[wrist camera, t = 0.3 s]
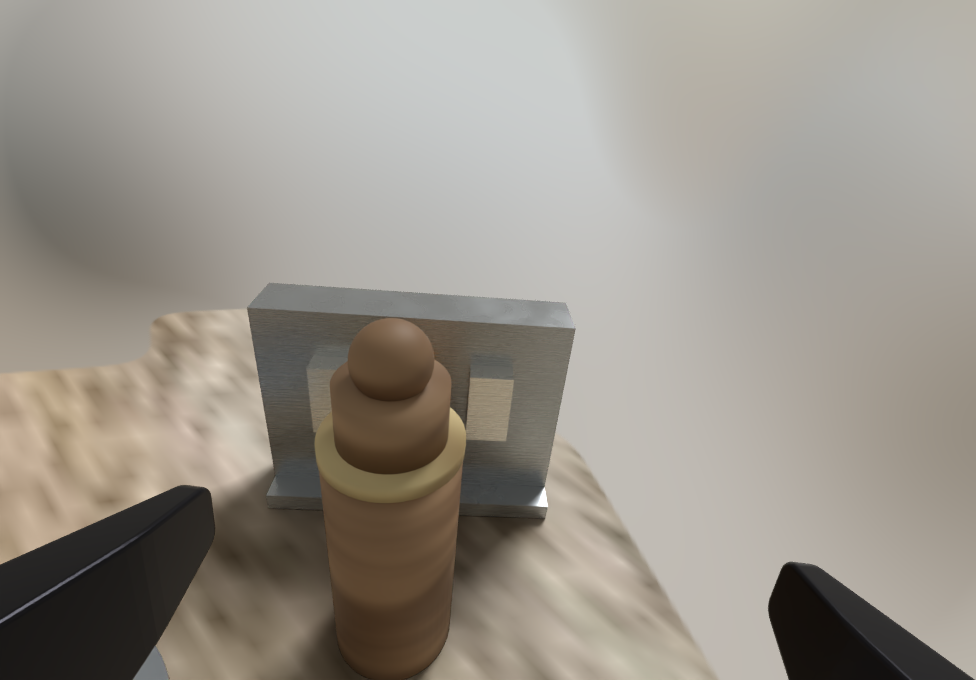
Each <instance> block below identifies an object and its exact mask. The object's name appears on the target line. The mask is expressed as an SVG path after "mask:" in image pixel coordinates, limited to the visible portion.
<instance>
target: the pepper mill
mask: <svg viewBox="0 0 976 680" xmlns="http://www.w3.org/2000/svg"><path fill="white" fill-rule="evenodd" d="M330 397H331V409H332V412H330V413H329V414H328V415H327V416H326V417H325V419H324V420H323V421H322V423H321V424H320V426H319V428H318V430H317V432H316V436H315V454H316V463H317V466H318V469H319V476H320V485H321V494H322V504H323V513H324V522H325V531H326V540H327V550H328V559H329V568H330V577H331V586H332V596H333V605H334V614H335V623H336V632H337V642H338V646H339V649H340V652H341V654H342V656H343V658H344V660H345V661H346V662H347V664H348V665H349V666H350V667H351V668H352V669H353V670H354V671H355V672H357V673H358V674H360V675H362V676H364V677H366V678H368V679H371V680H403V679H406V678H409V677H412V676H414V675H416V674H418V673H419V672H421V671H422V670H424V669H425V668H426V667H427V666H429V665H430V664H431V663H432V662H433V661H434V660H435V659H436V657H437V656H438V654H439V653H440V652H441V650H442V648H443V646H444V644H445V642H446V639H447V636H448V632H449V625H450V613H451V601H452V589H453V577H454V564H455V552H456V540H457V528H458V516H459V504H460V491H461V479H462V467H463V460H464V456H465V447H466V430H465V427H464V424H463V422H462V420H461V418H460V417H459V416H458V414H457V413H456V412H455V411H454V410H453V409H452V408H450V400H451V377H450V374H449V372H448V371H447V370H446V368H445V367H444V366H443V365H442V364H440V363H439V362H438V361H436V360H435V359H434V351H433V347H432V345H431V343H430V341H429V339H428V337H427V336H426V335H425V333H424V332H423V331H422V330H421V329H420V328H419V327H417V326H416V325H414V324H413V323H411V322H409V321H406V320H403V319H398V318H385V319H380V320H377V321H374V322H372V323H370V324H368V325H367V326H365V327H364V328H363V329H362V330H361V331H359V333H358V334H357V335H356V336H355V338H354V339H353V341H352V343H351V345H350V348H349V352H348V361H347V362H345V363H344V364H343V365H341V366H340V367H339V368H338V369H337V370H336V371H335V372H334V374H333V375H332V377H331V380H330Z"/></svg>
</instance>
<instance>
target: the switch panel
mask: <svg viewBox="0 0 976 680" xmlns="http://www.w3.org/2000/svg"><path fill="white" fill-rule="evenodd" d="M247 310H248V316H249V322H250V328H251V334H252V340H253V346H254V352H255V358H256V364H257V370H258V376H259V382H260V388H261V394H262V400H263V406H264V412H265V418H266V423H267V429H268V435H269V441H270V447H271V453H272V459H273V465H274V471H275V478H274V480H273V482H272V484H271V486H270V488H269V490H268V493H267V495H266V497H267V503H268V508H283V509H309V510H323V504H322V494H321V485H320V476H319V469H318V466H317V463H316V454H315V436H316V432H317V430H318V428H319V426H320V424H321V423H322V421H323V420H324V419H325V417H326V416H327V415H328V414H329V413H330V412H332V409H331V397H330V380H331V377H332V375H333V374H334V372H335V371H336V370H337V369H338V368H339V367H340V366H341V365H343V364H344V363H345V362H347V361H348V352H349V348H350V345H351V343H352V341H353V339H354V338H355V336H356V335H357V334H358V333H359V331H361V330H362V329H363V328H364V327H365V326H367V325H368V324H370V323H372V322H374V321H377V320H380V319H385V318H398V319H403V320H406V321H409V322H411V323H413V324H414V325H416V326H417V327H419V328H420V329H421V330H422V331H423V332H424V333H425V335H426V336H427V337H428V339H429V341H430V343H431V345H432V347H433V351H434V359H435V360H436V361H438V362H439V363H440V364H442V365H443V366H444V367H445V368H446V370H447V371H448V372H449V374H450V377H451V400H450V408H452V409H453V410H454V411H455V412H456V413H457V414H458V416H459V417H460V418H461V420H462V422H463V424H464V427H465V430H466V447H465V456H464V460H463V467H462V479H461V491H460V504H459V515H469V516H495V517H522V518H545V517H546V512H547V507H548V506H547V500H546V494H545V488H544V487H545V482H546V477H547V471H548V466H549V461H550V456H551V451H552V446H553V441H554V436H555V431H556V425H557V420H558V415H559V410H560V405H561V400H562V395H563V390H564V385H565V380H566V374H567V369H568V364H569V359H570V354H571V348H572V344H573V339H574V334H575V326H574V323H573V321H572V318H571V315H570V313H569V310H568V308H567V305H566V303H560V302H546V301H530V300H516V299H502V298H485V297H471V296H457V295H442V294H427V293H412V292H397V291H382V290H367V289H352V288H336V287H322V286H308V285H293V284H278V283H269V284H268V285H267V286H266V287H265V288H264V289H263V290H262V292H261V293H260V294H259V295H258V296H257V297H256V298H255V299H254V300H253V301H252V303H251V304H250V305H249V306H248V307H247Z"/></svg>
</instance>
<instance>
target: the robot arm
mask: <svg viewBox="0 0 976 680" xmlns="http://www.w3.org/2000/svg"><path fill="white" fill-rule="evenodd" d="M214 535H215V524H214V515H213V507H212V498H211V493H210V491H209V490H208V489H206V488H204V487H198V486H190V485H180V486H177V487H175V488H172V489H170V490H168V491H166V492H163V493H161V494H159V495H157V496H154V497H152V498H150V499H148V500H145V501H143V502H141V503H139V504H136V505H134V506H132V507H130V508H127V509H125V510H123V511H121V512H118V513H116V514H114V515H111V516H109V517H107V518H105V519H102V520H100V521H98V522H96V523H93V524H91V525H89V526H87V527H84V528H82V529H80V530H78V531H75V532H73V533H71V534H69V535H66V536H64V537H62V538H59V539H57V540H55V541H53V542H50V543H48V544H46V545H44V546H41V547H39V548H37V549H35V550H32V551H30V552H28V553H26V554H23V555H21V556H19V557H17V558H14V559H12V560H10V561H7V562H5V563H3V564H1V565H0V680H133V679H134V677H135V676H136V674H137V673H138V671H139V670H140V668H141V667H142V665H143V664H144V662H145V661H146V659H147V658H148V656H149V655H150V653H151V652H152V650H153V648H154V647H155V645H156V644H157V642H158V641H159V639H160V637H161V636H162V634H163V632H164V630H165V629H166V627H167V625H168V623H169V622H170V620H171V618H172V616H173V614H174V612H175V611H176V609H177V607H178V605H179V603H180V601H181V600H182V598H183V596H184V594H185V592H186V590H187V589H188V587H189V585H190V583H191V581H192V579H193V578H194V576H195V574H196V572H197V570H198V568H199V567H200V565H201V563H202V561H203V559H204V557H205V556H206V554H207V552H208V550H209V548H210V546H211V544H212V542H213V539H214ZM768 612H769V618H770V621H771V625H772V628H773V631H774V634H775V638H776V641H777V644H778V647H779V650H780V654H781V656H782V660H783V663H784V666H785V669H786V673H787V676H788V679H789V680H974V679H973V678H972V677H970V676H969V675H967V674H966V673H965V672H963V671H962V670H961V669H959V668H957V667H956V666H955V665H954V664H952V663H951V662H949V661H948V660H947V659H945V658H944V657H942V656H941V655H940V654H938V653H937V652H936V651H934V650H933V649H931V648H930V647H929V646H927V645H926V644H925V643H923V642H922V641H920V640H919V639H918V638H916V637H915V636H913V635H912V634H911V633H909V632H908V631H907V630H905V629H904V628H902V627H901V626H900V625H898V624H897V623H895V622H894V621H893V620H891V619H890V618H889V617H887V616H886V615H884V614H883V613H882V612H880V611H879V610H877V609H876V608H875V607H873V606H872V605H870V604H869V603H868V602H867V601H865V600H864V599H862V598H861V597H860V596H858V595H857V594H855V593H854V592H853V591H851V590H850V589H848V588H847V587H846V586H844V585H843V584H842V583H840V582H839V581H837V580H836V579H835V578H833V577H832V576H830V575H829V574H828V573H826V572H825V571H824V570H822V569H821V568H819V567H818V566H815V565H812V564H805V563H798V562H788V563H786V564H785V565H783V567H782V569H781V571H780V574H779V576H778V579H777V581H776V584H775V586H774V589H773V592H772V594H771V597H770V599H769V605H768Z"/></svg>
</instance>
